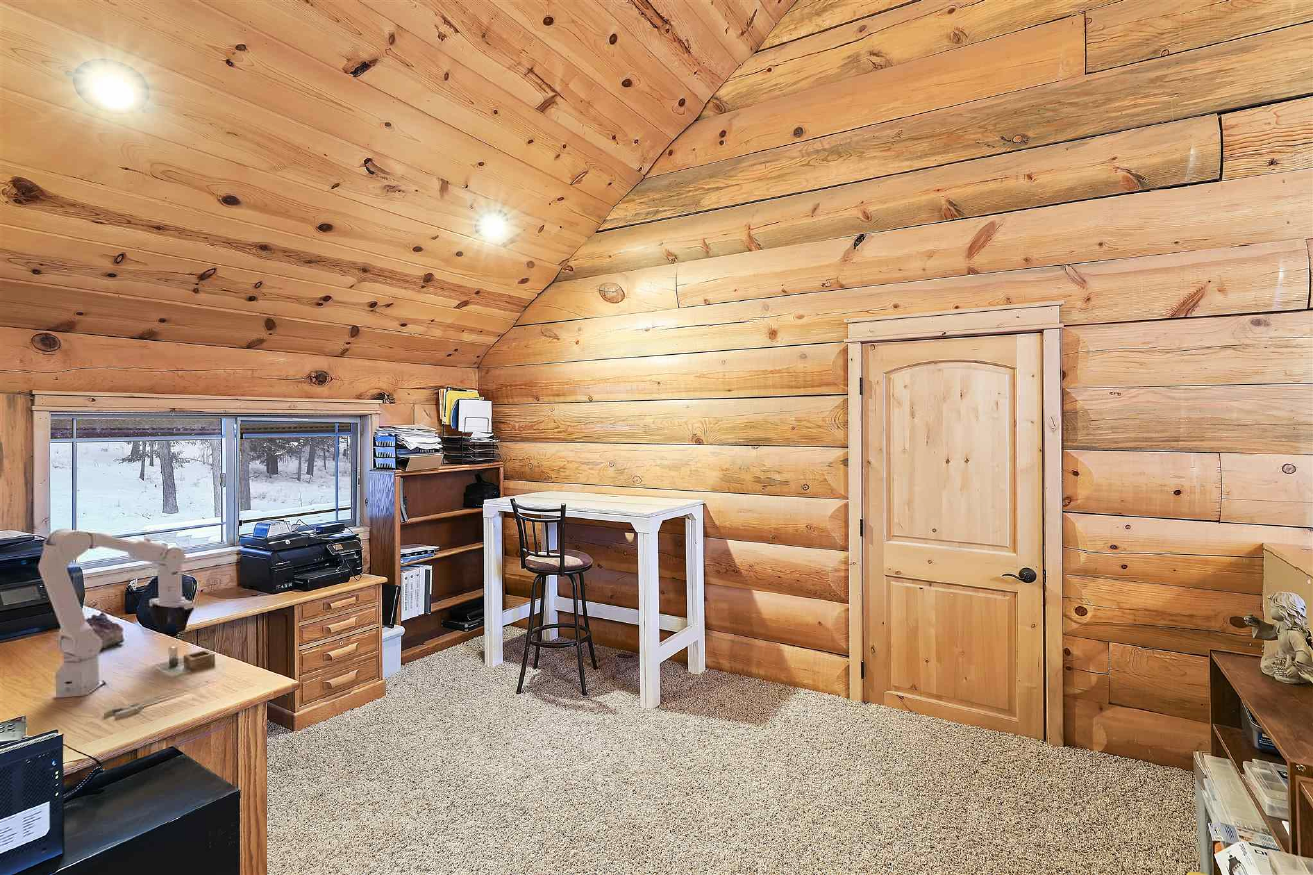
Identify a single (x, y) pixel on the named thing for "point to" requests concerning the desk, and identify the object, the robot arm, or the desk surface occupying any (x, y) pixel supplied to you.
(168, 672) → the board
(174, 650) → the post
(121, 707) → the adjustable wrench
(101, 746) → the desk surface
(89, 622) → the geode
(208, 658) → the collar
